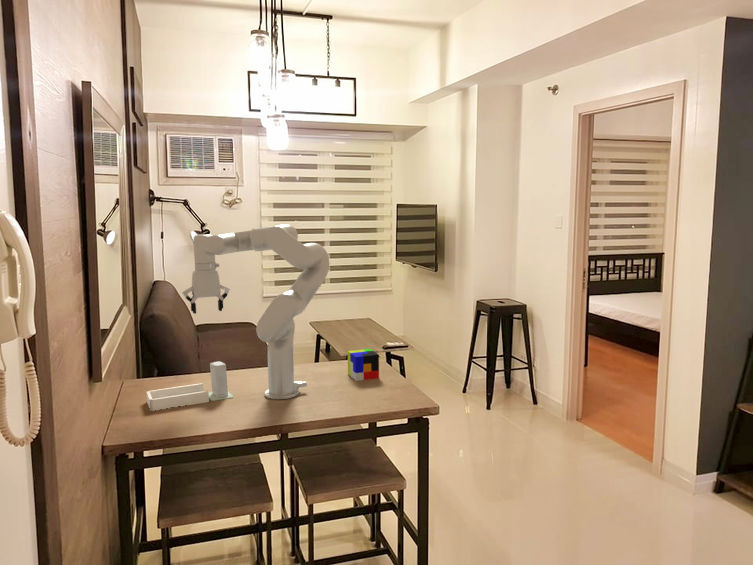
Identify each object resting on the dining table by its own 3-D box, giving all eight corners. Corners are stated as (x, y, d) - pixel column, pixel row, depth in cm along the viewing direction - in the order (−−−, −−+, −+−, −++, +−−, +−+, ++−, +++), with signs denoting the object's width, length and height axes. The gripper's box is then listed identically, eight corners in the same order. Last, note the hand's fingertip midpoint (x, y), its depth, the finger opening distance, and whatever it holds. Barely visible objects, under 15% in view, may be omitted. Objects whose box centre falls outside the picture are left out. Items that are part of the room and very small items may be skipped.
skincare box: (228, 395, 220) (227, 364, 219) (217, 398, 218) (215, 366, 216) (222, 391, 225) (220, 360, 224) (210, 393, 223) (209, 362, 221)
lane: (203, 393, 224) (202, 383, 224) (209, 401, 215) (208, 391, 214) (146, 401, 215) (146, 391, 215) (150, 411, 206) (149, 400, 205)
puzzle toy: (355, 381, 238) (355, 357, 236) (348, 374, 247) (347, 351, 246) (379, 378, 241) (378, 354, 240) (370, 371, 251) (370, 348, 249)
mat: (227, 389, 228) (227, 389, 228) (233, 397, 219) (233, 396, 219) (205, 393, 224) (205, 392, 224) (211, 401, 215) (211, 400, 215)
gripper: (225, 265, 230) (227, 308, 233) (179, 267, 223) (182, 312, 225) (230, 266, 224) (232, 311, 226) (183, 269, 216) (185, 315, 218)
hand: (207, 311), depth 226 cm, fingers open, 9 cm apart
